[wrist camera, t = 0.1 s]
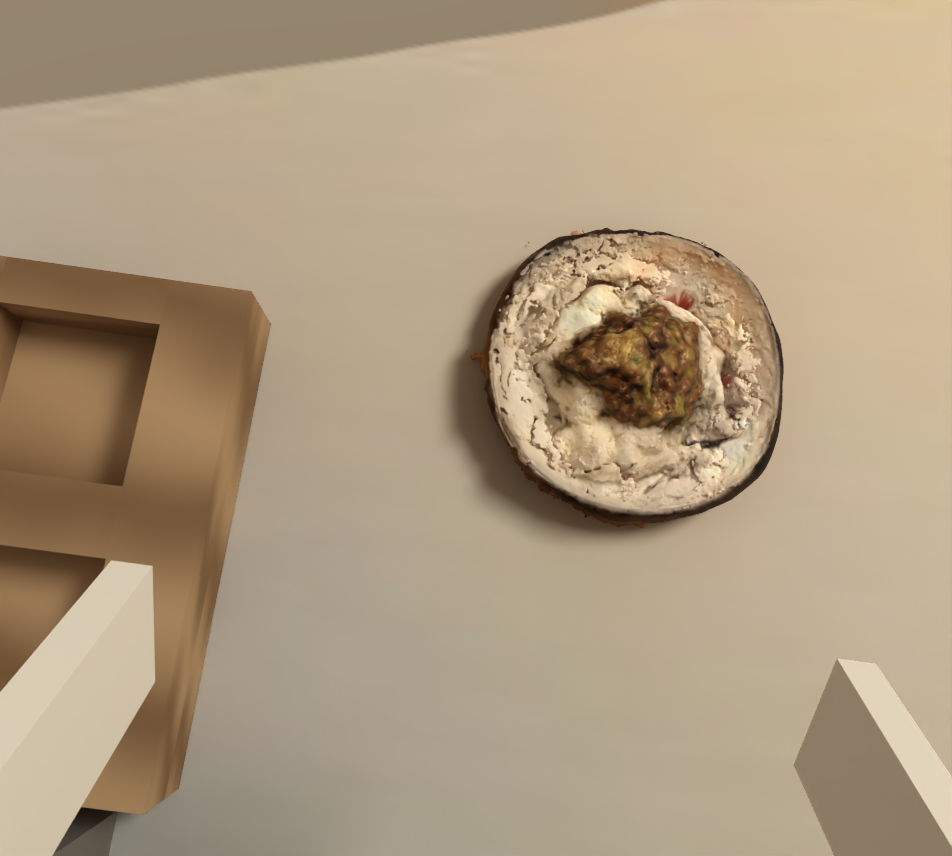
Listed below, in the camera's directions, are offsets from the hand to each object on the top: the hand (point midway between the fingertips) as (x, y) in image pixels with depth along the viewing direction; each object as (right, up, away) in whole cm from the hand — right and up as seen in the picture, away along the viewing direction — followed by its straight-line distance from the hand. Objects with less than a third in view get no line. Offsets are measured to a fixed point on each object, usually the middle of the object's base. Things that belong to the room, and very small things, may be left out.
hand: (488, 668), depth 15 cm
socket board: (-16, +1, +15) cm, 22 cm away
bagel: (+6, +7, +18) cm, 20 cm away
